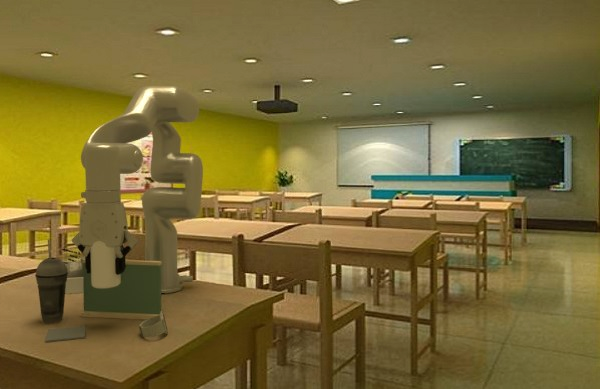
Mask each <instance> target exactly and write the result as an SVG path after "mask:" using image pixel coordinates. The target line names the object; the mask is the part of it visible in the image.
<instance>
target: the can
mask: <svg viewBox="0 0 600 389" xmlns="http://www.w3.org/2000/svg"><path fill="white" fill-rule="evenodd" d="M90 253H91V282H92V286H93V287H94V288H97V289H109V288H114V287H117V286H119V284H120V283H121V275H120V274H119V275H117V274H116V267H115V259H116V258H117V254H116V252H115V248H114V247H107V246H106V244H105V243H103V242H101V241H97V242H95V243H94V244H93V246H91V247H90Z"/></svg>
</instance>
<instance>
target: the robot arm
mask: <svg viewBox="0 0 600 389" xmlns="http://www.w3.org/2000/svg"><path fill="white" fill-rule="evenodd" d="M199 114H200V106H199V102H198V99H197V97H196V96H195V95H194V94H192V93H191V92H189V91H188V90H185V89H184V88H181V87H179V86H174V85H147V86H142V87H139V88H138V89H137V90H136V92H135V93H134V95H133V96H132V98H131V100H130V102H128V105H127V107H126V108H125V110H124V111H123V113H122V114H121V115H119V116H116V117H114V118H113V119H111V120H109V121H107V122H105V123H104V124H101V125H100V126H99V127H97V128H96V129H94V131H92V133H91V134H90V136H89V137H88V138H87V140H86V141H85V144H84V145H83V147H82V151H81V153H80V162H81V165H82V167H83V169H85V170H84V171H85V172H84V174H85V190H84V191H82V192H81V193H80V197H81V198H84V200H85V203H82V205H81V211H80V218H79V232H78V233H77V234H76V235H75V236H74V237H72V238H71V242H72V244H74V245H75V247H76V248H77V249H78V251H79V252H80V253H81V254H82V257H83V256H84V257H85V267H86V269H87V274H90V273H91V253H90V247H91V246H93V244H94V243H95V242H97V241H101V242H103V243H105V244H106V246H107V247H114V248H115V252H116V254H117V258H116V259H115V267H116V274H117V275H119V274H121V273H123V272H124V270H125V268H126V263H125V260H126V256H127V255H128V254H129V253H130V252H131V251H132V249H134V247H135V246H136V245H137V244H138V243H139V240H138V239H137V238H136V237H135V236H134V235H133V234H132V233H131V232H130V231H129V228H128V220H127V219H128V218H127V212H126V208H125V205H124V202H122V200H121V199H122V196H121V195H122V194H121V193H122V192H121V175H129V174H134V173H136V172H138V171H139V170H140V169H141V167H142V166H143V164H144V163H143V162H144V156H143V152H142V150H141V149H140V148H139V146H137V145H135V144H132V142H137V141H139V140H142V139H145V138H146V137H148V136H150V134H151V135H152V146H151V147H152V148H151V159H150V177H151V179H152V180H153V182H156V183H159V184H169V185H170V184H175V185H176V184H178V185H179V184H181V185H184V187H171V186H170V187H169V186H156V187H155V186H154V187H150V188H148V189H147V190H145V191H144V193H143V195H142V197H141V206H142V211H143V218H144V227H145V228H144V229H145V230H144V232H145V235H144V236H145V238H144V239H145V247H144V248H145V251H144V252H145V258H144V259H145V260H144V261H162V264H161V293H165V294H170V293H171V294H172V293H176V292H179V291H180V290H182V289H183V283H193V282H194V281H193V280H194V279H193V275H184V274H183V275H180V274H179V273H178V231H177V228H176V226H175V225H174V222H172V219H173V220H174V219H175V220H182V219H183V220H191V219H196V218H197V217H198V216H199V214H200V211H201V205H202V191H203V178H204V165H203V162H202V158H200V157H201V156H199V155H198V154H195V153H191V152H181V146H182V145H181V144H182V143H181V142H182V139H181V138H182V137H181V136H180V134H179V132H178V131H177V129H176V128H175V127H174V126H173V125H172V124H171V123H193V122H195V121H196V120H197V118H198V117H199ZM126 243H127V245H126V246H125V244H126Z"/></svg>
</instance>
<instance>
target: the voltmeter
mask: <svg viewBox="0 0 600 389" xmlns="http://www.w3.org/2000/svg"><path fill="white" fill-rule="evenodd" d="M61 249H62V250H61V251H65V252H68V253H73V254H78V255H79V256H77V255H73V254H69V257H71V258H69V257H68V258H67V260H68V261H73V262H72V263H67V262H65V261H63V262H64V263H65V264H67V265H66V267H67V272H68V274H67V278H77V277H83V259H85V257H84V256H83V255H82V257H80V255H81V251H78V252H77V251H74V250H70V249H66V248H61ZM72 258H74V259H72ZM75 259H78V260H75ZM74 261H75V262H74Z"/></svg>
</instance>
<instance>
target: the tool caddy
mask: <svg viewBox="0 0 600 389" xmlns="http://www.w3.org/2000/svg"><path fill="white" fill-rule="evenodd" d="M64 262H67V263H72V262H73V261H72V260H71V261H70V260H68V261H64ZM74 262H75V260H74ZM65 265H67V264H65ZM70 293H72V294H81V293H83V294H84V291H83V277H77V278H67V281H66V288H65V295H68V294H69V295H71V294H70Z"/></svg>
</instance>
